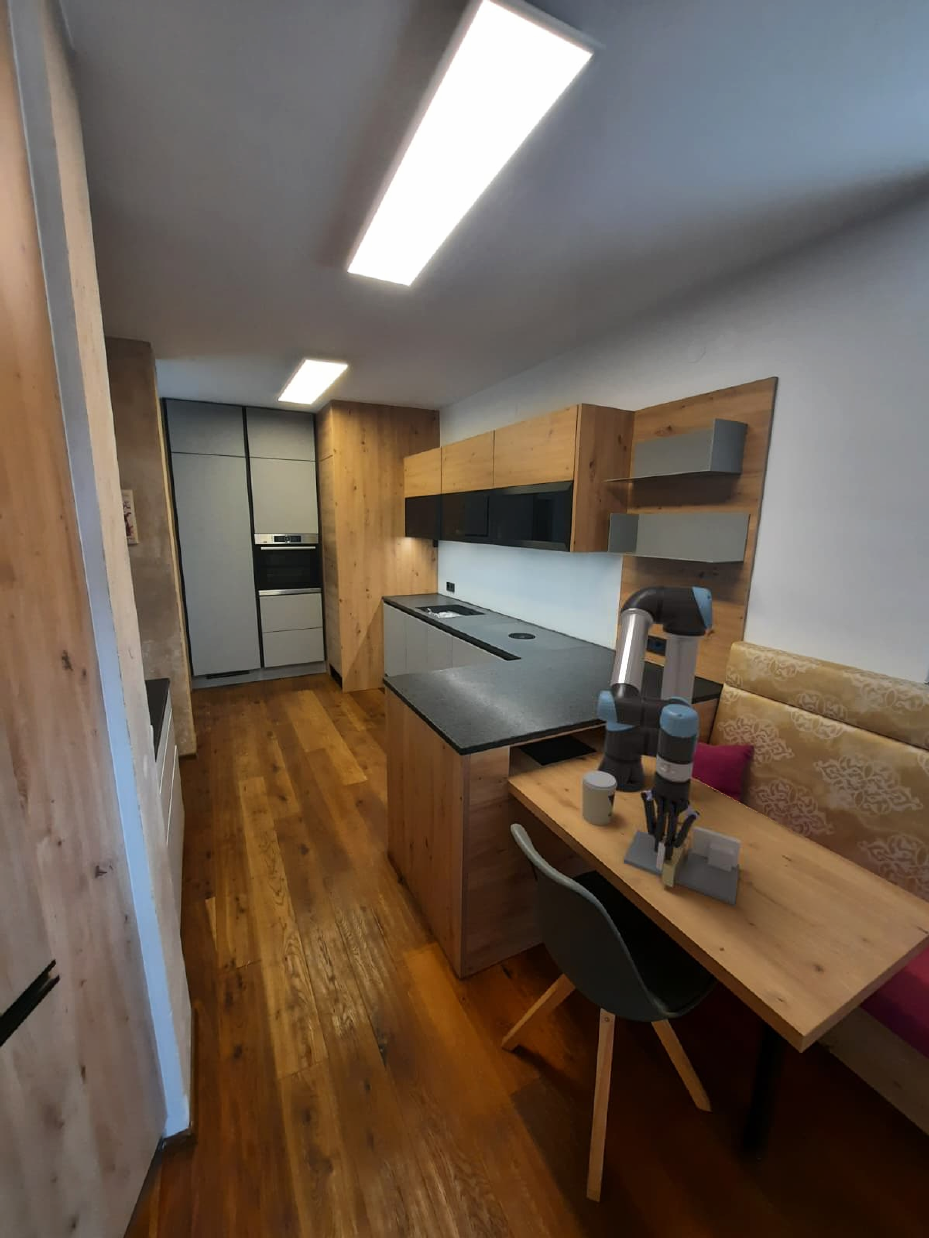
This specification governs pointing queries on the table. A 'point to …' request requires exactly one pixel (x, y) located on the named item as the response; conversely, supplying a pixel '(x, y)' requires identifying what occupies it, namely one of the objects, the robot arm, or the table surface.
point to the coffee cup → (598, 797)
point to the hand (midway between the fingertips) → (661, 866)
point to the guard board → (695, 862)
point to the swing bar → (675, 862)
